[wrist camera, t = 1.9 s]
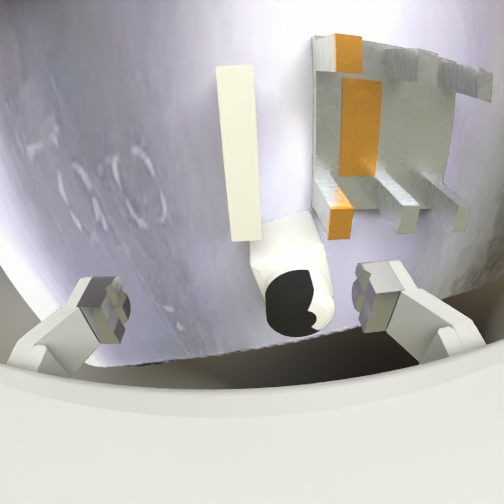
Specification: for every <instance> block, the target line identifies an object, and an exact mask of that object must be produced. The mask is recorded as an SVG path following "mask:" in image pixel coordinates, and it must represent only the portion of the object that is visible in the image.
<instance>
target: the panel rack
mask: <svg viewBox="0 0 504 504" xmlns="http://www.w3.org/2000/svg"><path fill="white" fill-rule="evenodd" d="M312 54H313V170H312V198H311V207H312V209H313V211H316V213H317V216H318V218H319V220H320V222H321V225H322V227H323V229H324V232H325V234H326V236H327V239H328V240H336V239H350V233H351V225H352V218H353V210H361V209H378V210H379V211H380V213H381V214H382V215H383V217H384V218H385V219H386V220H387V222H388V223H389V224H390V226H391V227H392V228H393V230H394V231H395V232H396V234H413V233H414V232H415V228H416V224H417V219H418V215H419V211H420V209H430V210H431V211H432V212H433V213H434V214H435V215H436V216H437V217H438V218H439V219H440V220H441V221H442V222H443V223H444V224H445V225H446V226H447V227H448V229H449V230H450V231H451V232H464V231H465V229H466V226H467V223H468V219H469V216H470V212H471V209H472V206H471V205H470V204H469V203H468V202H466V201H465V200H464V199H463V198H462V197H460V196H459V195H458V194H457V193H456V192H454V191H453V190H452V189H451V188H449V187H448V186H447V185H446V184H444V183H443V181H444V176H445V171H446V166H447V160H448V154H449V147H450V141H451V133H452V125H453V116H454V105H455V92H458V93H461V94H465V95H468V96H471V97H475V98H478V99H481V100H484V101H487V102H490V103H491V98H492V82H493V73H491V72H488V71H486V70H483V69H481V68H477V67H471V66H466V65H459V64H457V62H454V61H451V60H448V59H444V58H441V57H438V54H436V53H433V52H429V51H426V50H422V49H418V48H402V47H397V46H392V45H387V44H382V43H376V42H370V41H363V40H362V37H360V36H353V35H344V34H332V35H329V36H312Z"/></svg>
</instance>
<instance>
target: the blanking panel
mask: <svg viewBox="0 0 504 504" xmlns="http://www.w3.org/2000/svg"><path fill="white" fill-rule="evenodd" d="M216 77H217V90H218V102H219V114H220V126H221V137H222V148H223V159H224V170H225V181H226V191H227V201H228V211H229V221H230V230H231V240H232V242H238V241H255V240H262V233H261V209H260V187H259V165H258V144H257V123H256V104H255V85H254V67H253V64H249V65H233V66H221V67H216Z"/></svg>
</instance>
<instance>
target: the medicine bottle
mask: <svg viewBox="0 0 504 504" xmlns="http://www.w3.org/2000/svg"><path fill="white" fill-rule="evenodd" d="M261 233H262V240H255V241H249V261H250V268H251V270H252V273H253V275H254V278H255V280H256V282H257V285H258V287H259V290H260V292H261V295H262V297H263V299H264V302H265V304H266V316H267V322H268V324H269V325H270V327H271V328H272V329H273V330H275V331H276V332H278V333H280V334H282V335H285V336H289V337H303V336H307V335H311V334H314V333H316V332H318V331H320V330H321V329H323V328H324V327H325V326H326V325H327V324H328V323H329V322H330V320H331V319H332V317H333V315H334V311H335V305H334V302H333V296H334V293H333V287H332V282H331V276H330V271H329V266H328V261H327V255H326V251H325V246H324V243H323V241H322V238H321V235H320V233H319V230H318V228H317V226H316V223H315V221H314V218H313V216H312V213H311V211H309V210H307V211H303V212H299V213H296V214H292V215H289V216H285V217H281V218H278V219H274V220H271V221H267V222H264V223H261Z"/></svg>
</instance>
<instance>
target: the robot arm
mask: <svg viewBox="0 0 504 504" xmlns="http://www.w3.org/2000/svg"><path fill="white" fill-rule="evenodd" d="M355 273H356V276H357V279H356V280H355V281H354V283H353V287H352V301H353V305H354V308H355V309H356V310H357V311H358V312H360V315H359V321H360V324H361V327H362V329H363V332H364V333H368V332H377V331H385V330H386V332H387V333H388V334H389V335H390V336H392V337H393V338H394V339H395V340H396V341H397V342H398V343H399V344H400V345H401V346H403V347H404V348H405V349H406V350H407V351H408V352H409V353H410V354H411V355H412V356H413V357H414V358H416V359H417V360H418V361H419V362H420V363H419V365H416V366H412V367H408V368H403V369H399V370H394V371H389V372H384V373H379V374H374V375H368V376H363V377H357V378H350V379H344V380H337V381H330V382H322V383H314V384H306V385H296V386H285V387H271V388H254V389H221V390H198V389H196V390H195V389H166V388H165V389H164V388H148V387H135V386H124V385H114V384H105V383H98V382H90V381H83V380H76V379H71V377H72V375H73V374H74V373H75V372H76V371H77V370H78V369H79V368H80V366H81V365H82V364H83V363H84V362H85V361H86V360H87V359H88V358H89V356H90V355H91V354H92V353H93V352H94V351H95V350H96V349H97V348H98V347H99V346H100V343H101V344H120V343H121V340H122V337H123V334H124V331H125V329H124V327H123V324H124V323H126V322H127V321H128V319H129V316H130V301H129V298H128V296H127V294H125V293H124V292H123V291H122V287H123V284H122V281H121V279H120V278H119V277H117V276H110V277H82V278H80V280H79V282H78V283H77V285H76V287H75V289H74V290H73V292H72V294H71V296H70V297H69V299H68V301H67V303H66V305H65V307H60V308H59V309H58V310H56V311H55V312H54V313H52V314H51V315H50V316H49V317H47V318H46V319H45V320H43V321H42V322H41V323H39V324H38V325H37V326H36V327H34V328H33V329H32V330H31V331H29V332H28V333H27V334H25V335H24V336H23V337H22V338H20V340H18V342H17V344H16V346H15V347H14V349H13V351H12V354H11V356H10V358H9V360H8V362H7V364H6V365H5V364H2V363H0V504H504V339H502V340H499V341H496V342H494V343H491V344H488V345H486V344H485V342H484V340H483V338H482V337H481V335H480V333H479V331H478V330H477V328H476V326H475V325H474V323H473V321H472V320H471V319H469V318H468V317H466V316H465V315H463V314H461V313H460V312H458V311H457V310H455V309H454V308H452V307H450V306H449V305H447V304H446V303H444V302H442V301H441V300H439V299H438V298H436V297H434V296H433V295H431V294H429V293H428V292H426V291H425V290H423V289H418V288H417V287H416V285H415V283H414V282H413V280H412V279H411V277H410V275H409V274H408V272H407V271H406V269H405V268H404V266H403V265H402V263H401V262H400V261H399V260H398V259H395V260H386V261H379V262H367V263H358V265H357V267H356V271H355Z"/></svg>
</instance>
